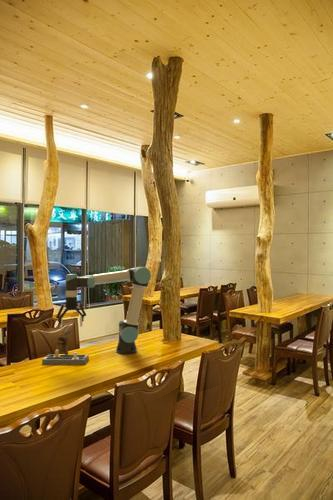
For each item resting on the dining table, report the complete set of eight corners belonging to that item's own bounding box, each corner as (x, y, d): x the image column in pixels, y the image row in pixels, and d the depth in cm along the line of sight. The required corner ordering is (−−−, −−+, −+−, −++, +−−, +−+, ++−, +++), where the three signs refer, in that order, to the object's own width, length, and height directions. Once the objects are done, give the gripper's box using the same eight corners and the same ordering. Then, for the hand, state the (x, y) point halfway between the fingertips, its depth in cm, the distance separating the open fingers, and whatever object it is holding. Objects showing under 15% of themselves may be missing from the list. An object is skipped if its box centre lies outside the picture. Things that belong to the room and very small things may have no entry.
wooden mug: (63, 357, 250) (63, 331, 251) (52, 353, 259) (52, 328, 259) (73, 354, 257) (74, 329, 257) (63, 351, 266) (63, 327, 266)
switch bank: (88, 359, 246) (88, 354, 246) (84, 364, 234) (84, 359, 234) (48, 358, 246) (48, 354, 246) (42, 364, 234) (42, 359, 234)
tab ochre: (60, 357, 244) (60, 349, 245) (59, 358, 241) (59, 350, 241) (54, 357, 244) (54, 349, 245) (53, 358, 241) (53, 350, 241)
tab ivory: (78, 359, 239) (79, 351, 239) (77, 361, 236) (77, 353, 236) (73, 359, 239) (73, 351, 239) (71, 361, 236) (71, 353, 236)
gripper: (87, 294, 254) (87, 324, 254) (51, 297, 242) (51, 328, 242) (90, 295, 248) (90, 326, 248) (54, 298, 235) (54, 330, 235)
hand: (71, 327), depth 245 cm, fingers open, 13 cm apart
